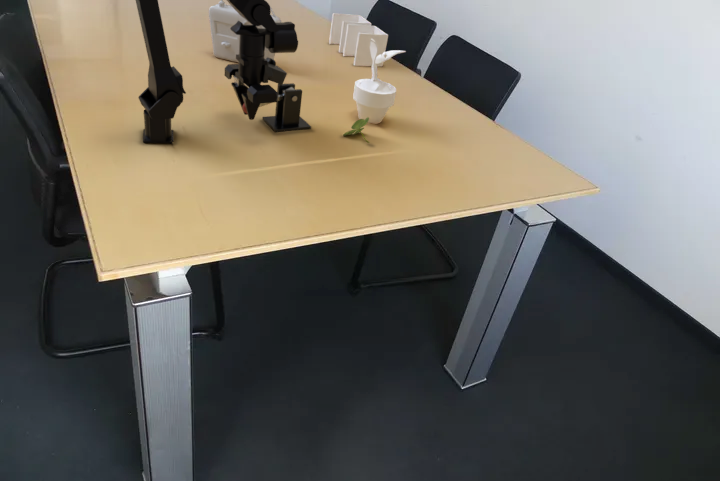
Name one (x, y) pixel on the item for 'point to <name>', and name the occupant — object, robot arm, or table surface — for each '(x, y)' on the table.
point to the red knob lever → (280, 97)
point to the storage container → (356, 37)
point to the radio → (229, 31)
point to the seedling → (358, 127)
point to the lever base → (287, 111)
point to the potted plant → (375, 89)
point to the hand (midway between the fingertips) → (249, 116)
